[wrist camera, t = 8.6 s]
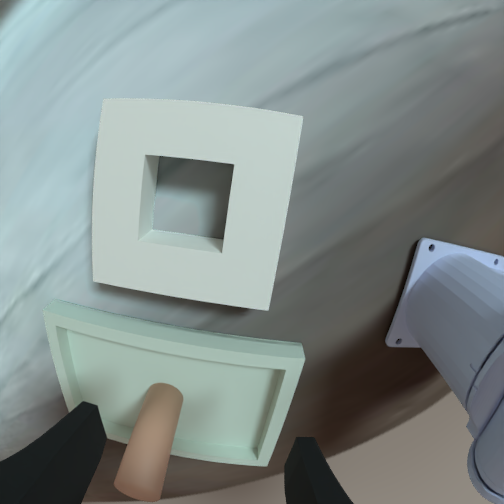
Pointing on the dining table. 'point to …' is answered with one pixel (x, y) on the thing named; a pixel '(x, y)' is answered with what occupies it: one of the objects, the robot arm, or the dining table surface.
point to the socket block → (184, 245)
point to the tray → (177, 380)
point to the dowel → (150, 444)
